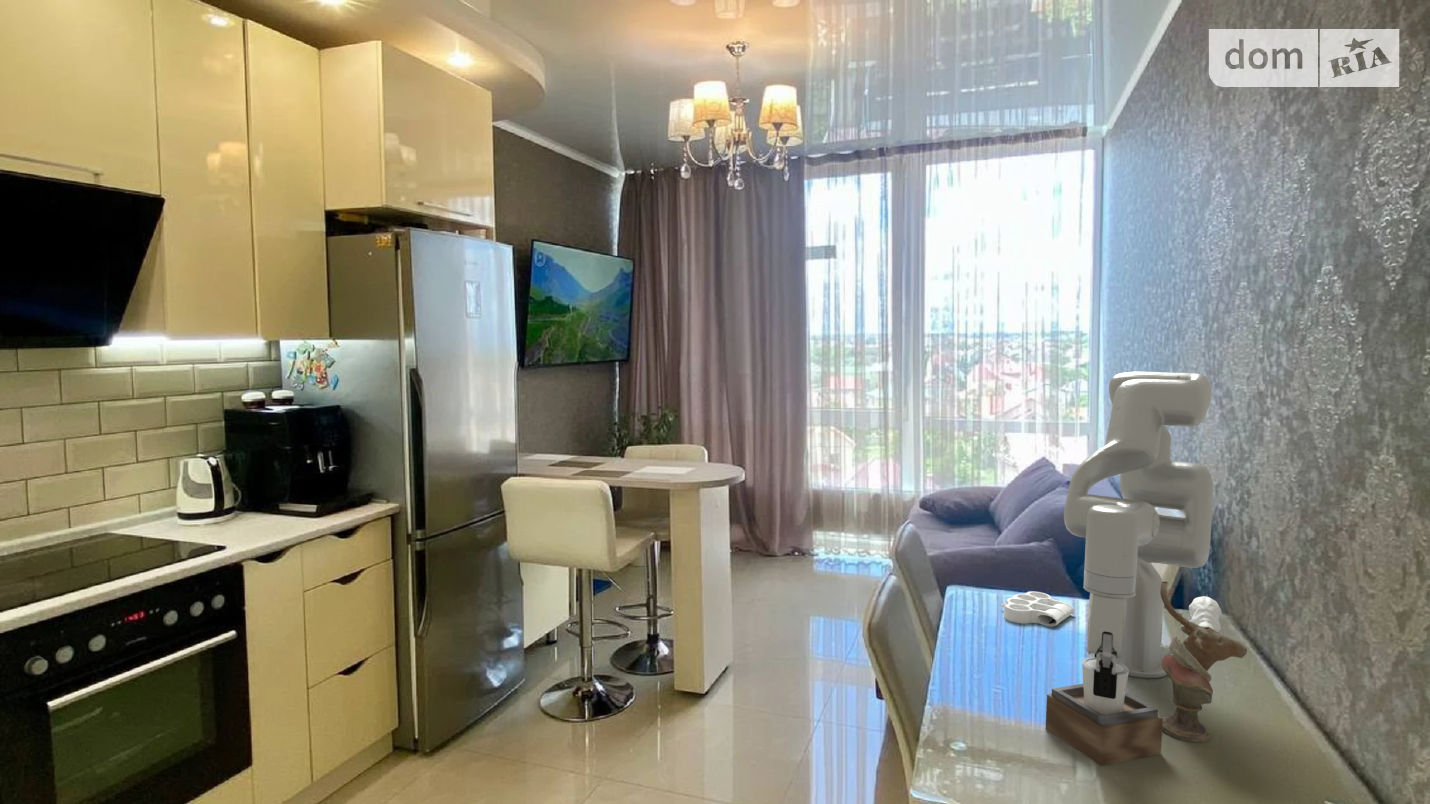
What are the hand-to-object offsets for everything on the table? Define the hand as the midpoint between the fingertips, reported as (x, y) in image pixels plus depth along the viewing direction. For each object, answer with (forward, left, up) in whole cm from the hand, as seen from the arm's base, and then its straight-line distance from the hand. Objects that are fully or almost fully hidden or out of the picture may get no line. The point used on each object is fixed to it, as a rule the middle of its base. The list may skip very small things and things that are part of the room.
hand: (1104, 684), depth 125 cm
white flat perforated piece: (-32, -53, -10) cm, 63 cm away
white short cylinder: (0, 0, -4) cm, 4 cm away
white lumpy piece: (-58, -29, -10) cm, 66 cm away
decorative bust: (-17, +3, -10) cm, 20 cm away
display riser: (0, 0, -10) cm, 10 cm away
